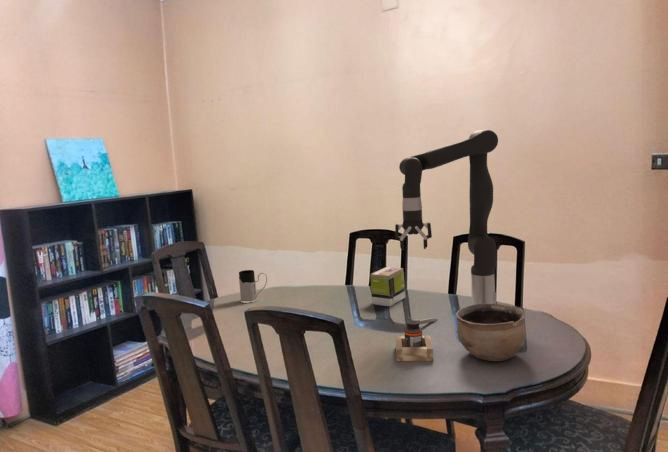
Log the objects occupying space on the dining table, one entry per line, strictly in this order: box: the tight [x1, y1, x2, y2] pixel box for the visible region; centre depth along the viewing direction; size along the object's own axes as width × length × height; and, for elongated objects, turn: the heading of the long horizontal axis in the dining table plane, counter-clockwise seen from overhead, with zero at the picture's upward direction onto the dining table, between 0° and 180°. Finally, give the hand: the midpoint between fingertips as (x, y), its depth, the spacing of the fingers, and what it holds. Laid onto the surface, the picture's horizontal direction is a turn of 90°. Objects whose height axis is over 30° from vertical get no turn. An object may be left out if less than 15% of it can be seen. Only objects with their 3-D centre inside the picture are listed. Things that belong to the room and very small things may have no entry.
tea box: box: [370, 266, 406, 307], centre depth 227 cm, size 15×10×15 cm
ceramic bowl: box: [455, 303, 527, 362], centre depth 159 cm, size 22×22×15 cm
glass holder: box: [238, 269, 268, 301], centre depth 242 cm, size 9×14×15 cm, turn 96°
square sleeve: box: [394, 335, 434, 362], centre depth 166 cm, size 12×12×4 cm
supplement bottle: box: [404, 319, 423, 347], centre depth 165 cm, size 6×6×11 cm
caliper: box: [407, 317, 439, 326], centre depth 191 cm, size 20×1×6 cm, turn 137°
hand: (413, 249), depth 193 cm, fingers open, 8 cm apart
